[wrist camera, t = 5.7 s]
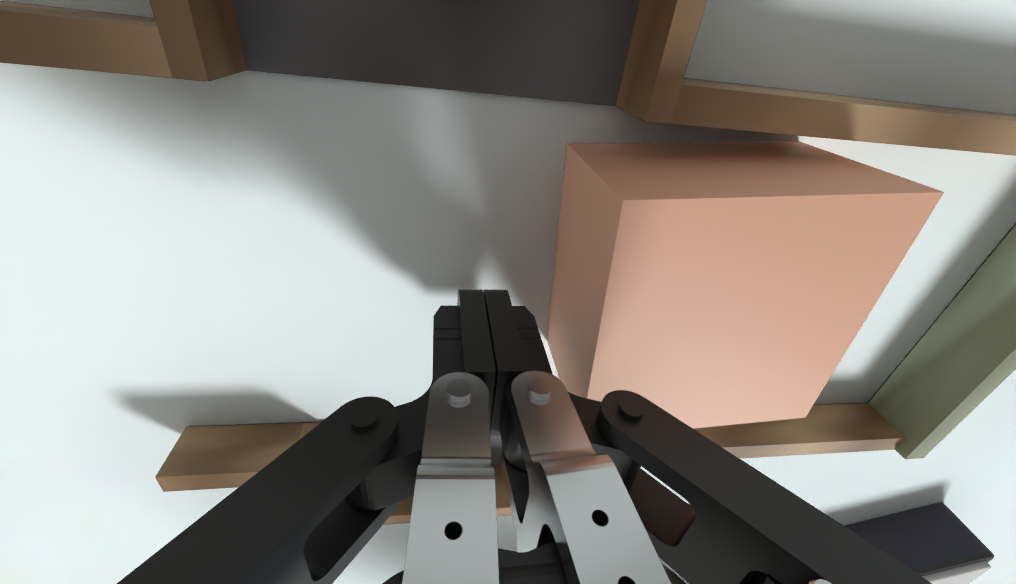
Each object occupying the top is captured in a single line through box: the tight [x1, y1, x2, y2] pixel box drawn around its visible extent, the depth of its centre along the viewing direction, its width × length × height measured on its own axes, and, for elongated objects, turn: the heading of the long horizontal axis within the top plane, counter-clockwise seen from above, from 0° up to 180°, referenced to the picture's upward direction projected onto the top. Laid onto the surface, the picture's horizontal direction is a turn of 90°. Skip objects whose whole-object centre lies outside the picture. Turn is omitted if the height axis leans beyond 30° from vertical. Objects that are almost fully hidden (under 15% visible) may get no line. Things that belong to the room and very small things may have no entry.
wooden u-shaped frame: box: [0, 0, 1016, 525], centre depth 13 cm, size 30×20×2 cm, turn 84°
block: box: [547, 142, 944, 428], centre depth 12 cm, size 7×7×4 cm
